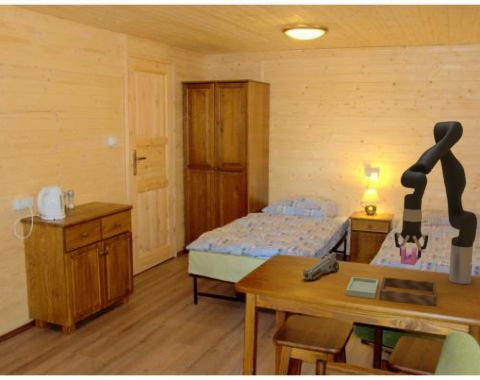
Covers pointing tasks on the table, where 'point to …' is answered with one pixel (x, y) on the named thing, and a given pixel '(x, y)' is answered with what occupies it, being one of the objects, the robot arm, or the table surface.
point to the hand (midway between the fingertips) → (410, 257)
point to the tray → (362, 287)
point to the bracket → (409, 256)
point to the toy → (322, 267)
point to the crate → (406, 296)
